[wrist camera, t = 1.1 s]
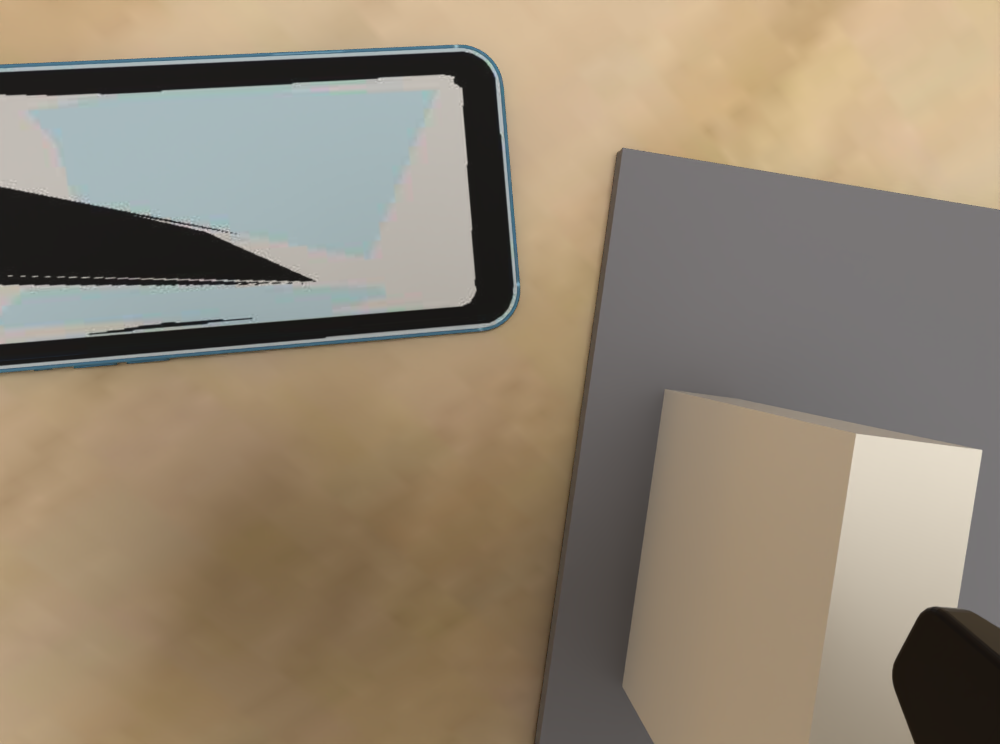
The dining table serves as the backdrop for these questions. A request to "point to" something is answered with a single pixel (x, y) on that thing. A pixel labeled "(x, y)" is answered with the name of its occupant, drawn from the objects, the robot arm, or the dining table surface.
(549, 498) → the dining table surface
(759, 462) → the tile
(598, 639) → the mat
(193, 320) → the smartphone
